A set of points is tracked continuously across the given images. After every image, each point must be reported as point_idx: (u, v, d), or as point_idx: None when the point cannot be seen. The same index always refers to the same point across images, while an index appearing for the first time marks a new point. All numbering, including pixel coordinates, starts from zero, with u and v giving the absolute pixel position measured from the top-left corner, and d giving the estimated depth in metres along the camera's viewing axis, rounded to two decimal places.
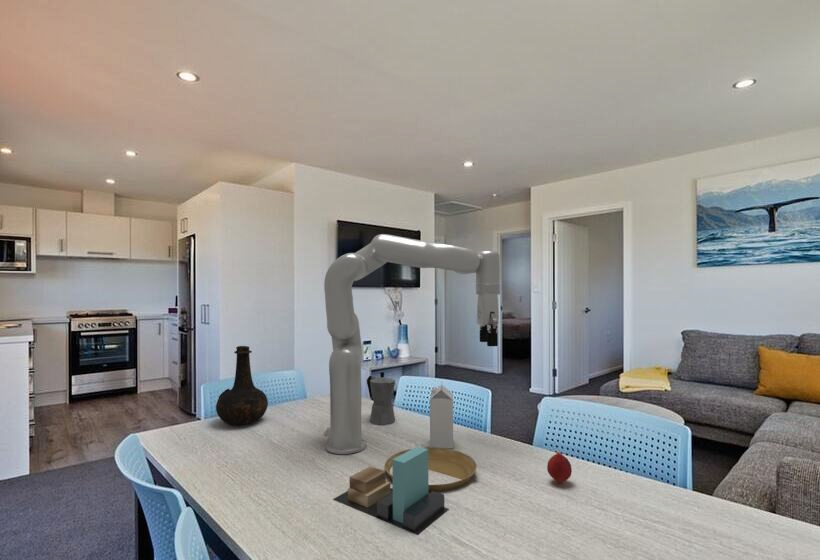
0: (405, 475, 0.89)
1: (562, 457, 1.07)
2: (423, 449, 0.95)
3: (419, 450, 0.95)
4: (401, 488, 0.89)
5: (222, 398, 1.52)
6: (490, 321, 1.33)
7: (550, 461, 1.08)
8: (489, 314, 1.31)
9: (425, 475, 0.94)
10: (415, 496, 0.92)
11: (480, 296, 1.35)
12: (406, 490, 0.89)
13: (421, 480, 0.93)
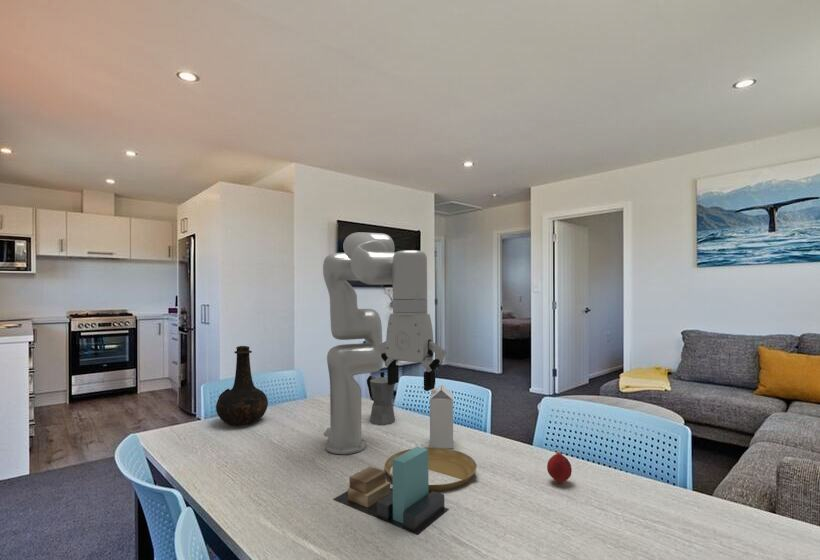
0: (405, 475, 0.89)
1: (562, 457, 1.07)
2: (423, 449, 0.95)
3: (419, 450, 0.95)
4: (401, 488, 0.89)
5: (222, 398, 1.52)
6: None
7: (550, 461, 1.08)
8: (427, 344, 0.89)
9: (425, 475, 0.94)
10: (415, 496, 0.92)
11: (406, 318, 0.90)
12: (406, 490, 0.89)
13: (421, 480, 0.93)
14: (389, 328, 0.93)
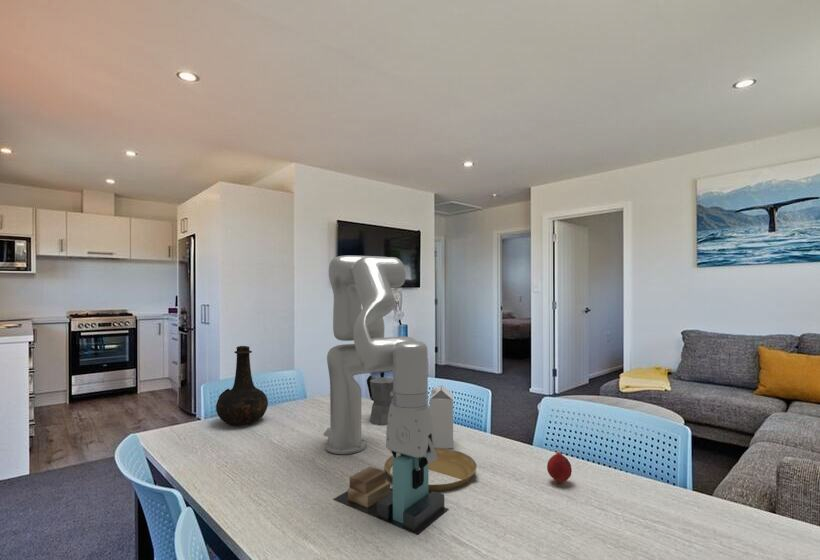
0: (405, 475, 0.89)
1: (562, 457, 1.07)
2: None
3: None
4: (401, 488, 0.89)
5: (222, 398, 1.52)
6: None
7: (550, 461, 1.08)
8: (427, 439, 0.89)
9: (425, 475, 0.94)
10: (415, 496, 0.92)
11: (407, 412, 0.90)
12: (406, 490, 0.89)
13: None
14: (389, 419, 0.93)
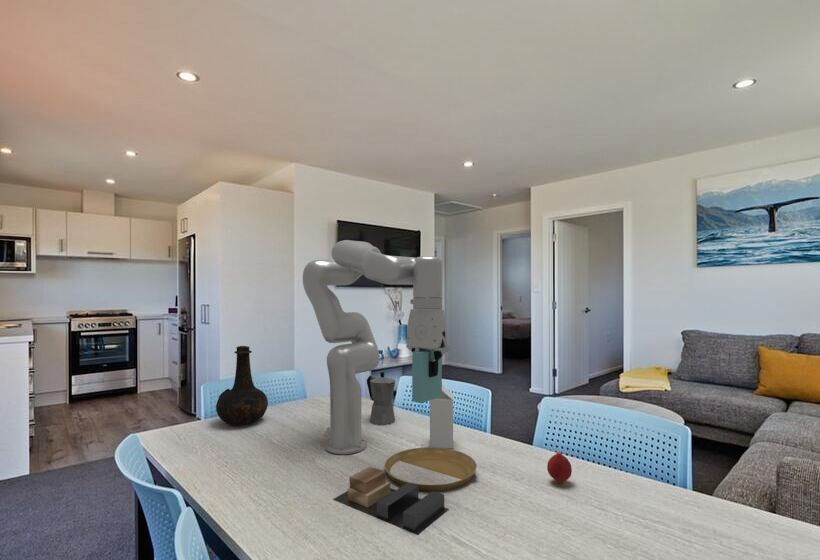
0: (423, 363, 1.07)
1: (562, 457, 1.07)
2: None
3: None
4: (419, 374, 1.07)
5: (222, 398, 1.52)
6: None
7: (550, 461, 1.08)
8: (442, 334, 1.07)
9: (439, 369, 1.13)
10: (431, 384, 1.10)
11: (425, 313, 1.08)
12: (424, 376, 1.07)
13: None
14: (410, 321, 1.11)
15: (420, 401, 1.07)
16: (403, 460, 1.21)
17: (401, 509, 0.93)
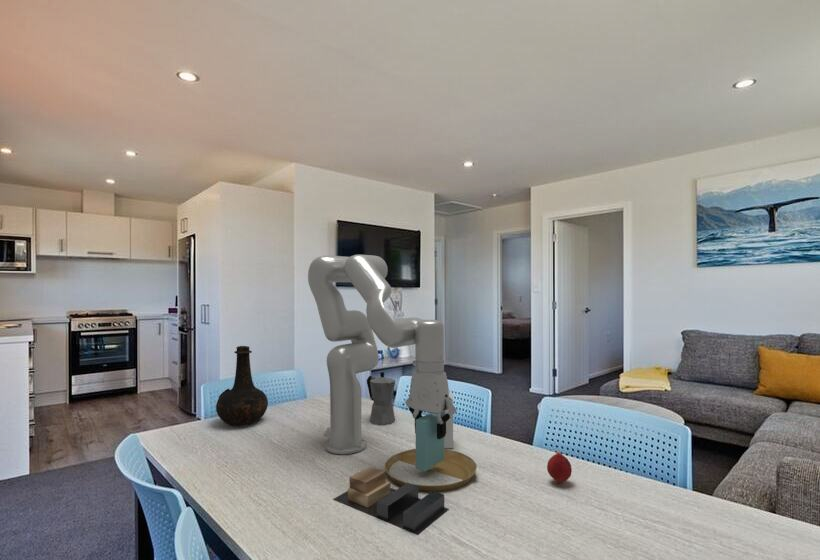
0: (426, 432, 1.09)
1: (562, 457, 1.07)
2: None
3: None
4: (423, 442, 1.09)
5: (222, 398, 1.52)
6: None
7: (550, 461, 1.08)
8: (444, 398, 1.10)
9: None
10: (434, 450, 1.12)
11: (427, 376, 1.11)
12: (427, 444, 1.10)
13: None
14: (412, 383, 1.13)
15: (424, 469, 1.09)
16: (403, 461, 1.21)
17: (401, 509, 0.93)
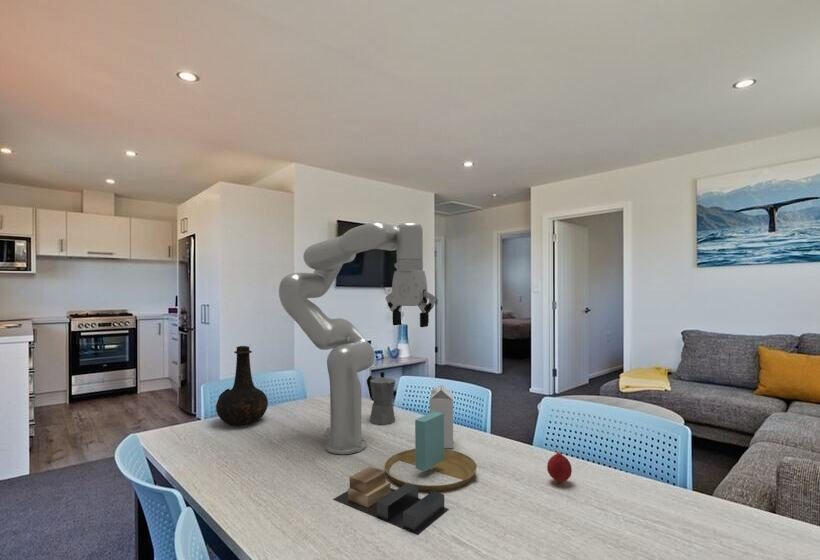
0: (426, 432, 1.09)
1: (562, 457, 1.07)
2: (439, 413, 1.16)
3: (436, 414, 1.15)
4: (422, 442, 1.09)
5: (222, 398, 1.52)
6: None
7: (550, 461, 1.08)
8: (422, 292, 1.20)
9: (441, 434, 1.15)
10: (434, 450, 1.12)
11: (407, 273, 1.21)
12: (427, 444, 1.10)
13: (438, 438, 1.14)
14: (394, 282, 1.24)
15: (423, 469, 1.09)
16: (403, 461, 1.21)
17: (401, 509, 0.93)
